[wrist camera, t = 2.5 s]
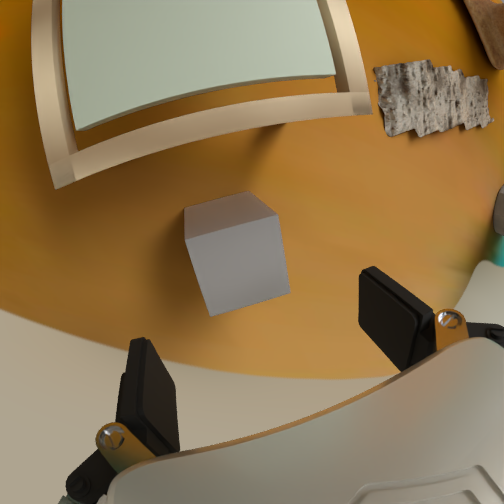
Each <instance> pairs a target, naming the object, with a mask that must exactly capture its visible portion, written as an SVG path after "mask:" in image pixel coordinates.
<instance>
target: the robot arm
mask: <svg viewBox="0 0 504 504" xmlns="http://www.w3.org/2000/svg"><path fill="white" fill-rule="evenodd" d="M358 322H359V325H360V327H361V328H362V329H363V330H364V331H365V333H366V334H367V335H368V336H369V337H370V338H371V339H372V340H373V341H374V342H375V344H376V345H377V346H378V347H379V348H380V349H381V350H382V351H383V352H384V354H385V355H386V356H387V357H388V358H389V359H390V360H391V361H392V363H393V364H394V365H395V366H396V367H397V368H398V369H399V370H400V371H401V373H399V374H397V375H395V376H394V377H392V378H390V379H388V380H386V381H384V382H383V383H381V384H379V385H377V386H375V387H373V388H371V389H369V390H367V391H365V392H363V393H361V394H359V395H357V396H354V397H353V398H350V399H348V400H346V401H344V402H341V403H339V404H337V405H334V406H332V407H330V408H327V409H325V410H323V411H320V412H318V413H315V414H313V415H310V416H308V417H305V418H302V419H300V420H297V421H294V422H291V423H288V424H285V425H282V426H279V427H277V428H273V429H270V430H267V431H264V432H260V433H257V434H254V435H251V436H247V437H243V438H239V439H236V440H231V441H227V442H223V443H219V444H215V445H210V446H206V447H201V448H196V449H192V450H186V451H181V452H179V451H180V443H179V432H178V420H177V409H176V408H177V407H176V389H175V384H174V382H173V380H172V378H171V376H170V375H169V373H168V371H167V370H166V368H165V366H164V364H163V362H162V361H161V359H160V357H159V355H158V354H157V352H156V350H155V348H154V346H153V344H152V343H151V341H150V340H149V339H148V340H146V339H145V338H144V337H141V338H137V339H133V340H131V342H130V347H129V353H128V359H127V365H126V372H125V373H123V374H122V376H121V381H120V388H119V395H118V403H117V412H116V420H115V422H114V423H113V422H112V423H109V424H106V425H104V426H103V427H102V428H101V429H100V430H99V431H98V433H97V435H96V439H95V440H96V446H97V448H98V449H97V450H96V451H95V452H94V453H93V454H92V455H91V456H90V457H88V458H87V459H86V460H85V461H84V462H83V463H82V464H81V465H80V466H79V467H77V469H76V470H74V471H73V472H72V473H71V474H70V475H69V476H68V478H67V480H66V491H67V493H68V494H67V496H66V497H65V496H62V498H61V499H60V501H59V503H58V504H504V327H503V326H501V325H498V324H488V323H487V324H486V323H471V322H466V320H465V318H464V316H463V315H462V314H461V313H460V312H458V311H456V310H454V309H443V310H440V311H439V312H437V314H436V315H435V314H434V313H433V309H432V308H430V307H429V306H428V305H426V304H425V303H424V302H423V301H421V300H420V299H419V298H417V297H416V296H415V295H413V294H412V293H411V292H409V291H408V290H407V289H405V288H404V287H403V286H401V285H400V284H399V283H397V282H396V281H395V280H393V279H392V278H390V277H389V276H388V275H386V274H385V273H384V272H382V271H381V270H379V269H378V268H377V267H375V266H371V267H369V268H366V269H363V270H362V272H361V274H360V275H359V316H358Z"/></svg>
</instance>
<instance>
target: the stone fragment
mask: <svg viewBox="0 0 504 504" xmlns="http://www.w3.org/2000/svg"><path fill="white" fill-rule="evenodd" d="M374 71H375V73H376V77H377V81H378V85H379V87H378V93H379V103H378V105H379V104H380V105H379V106H380V107H381V108H382V109H383V112H384V113H385V117H384V119H385V131H386V134H387V135H388V136H395V135H398V134H400V133H403V132H405V131H409V130H411V129H414V128H415V130H416V132H417V134H418V136H419V137H423V136H424V135H427V134H430V133H432V132H435V131H436V130H439V131H440V132H443V131H445V130H448V129H452V128H454V127H455V126H456V125H460V124H462V123H464V124H465V128H466V130H469V129H470V128H472V127H475V126H477V125H479V124H481V127H482V128H484V127H485V126H487V125H488V124H489V123H491V122H493V121H494V119H493V118H492V119H490V116H489V109H488V101H487V100H488V86H487V81H488V79H480V77H479V76H474V77H467V78H464V75H463V73H462V70H460V69H458V70H457V71H452V68H451V66H447V67H444V66H442V67H438V68H433V65H432V63H431V61H430V60H424V61H416V62H407V63H404V64H402V63H399V64H393V65H388V66H382V67H376V68H374ZM374 81H375V82H376V80H374Z"/></svg>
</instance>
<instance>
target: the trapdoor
mask: <svg viewBox="0 0 504 504" xmlns="http://www.w3.org/2000/svg"><path fill="white" fill-rule="evenodd" d="M62 25H63V44H64V56H65V66H66V75H67V82H68V89H69V96H70V102H71V107H72V113H73V118H74V123H75V128H76V130H78V131H86V130H88V129H91V128H93V127H95V126H98V125H100V124H103V123H106V122H108V121H111V120H113V119H116V118H119V117H122V116H125V115H127V114H130V113H133V112H136V111H139V110H142V109H146V108H149V107H152V106H155V105H159V104H162V103H166V102H170V101H173V100H177V99H181V98H185V97H189V96H193V95H198V94H202V93H207V92H212V91H217V90H222V89H227V88H233V87H239V86H245V85H252V84H259V83H267V82H276V81H287V80H299V79H317V78H327V77H330V76H333V75H336V72H335V67H334V63H333V58H332V54H331V50H330V46H329V42H328V38H327V34H326V31H325V27H324V24H323V20H322V17H321V13H320V10H319V7H318V4H317V1H316V0H62Z"/></svg>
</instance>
